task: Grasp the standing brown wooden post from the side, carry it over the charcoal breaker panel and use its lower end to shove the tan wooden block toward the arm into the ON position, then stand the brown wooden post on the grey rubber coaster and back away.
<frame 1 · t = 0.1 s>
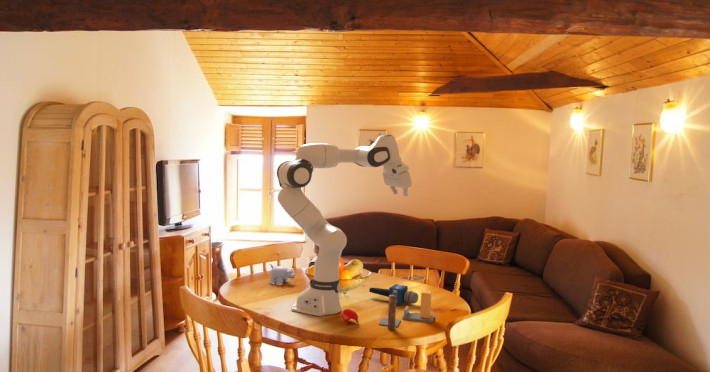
hand: (400, 194, 241), 52 cm above the table, tool tilted 20°, fingers open, 8 cm apart
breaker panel: (418, 318, 221), on the table
microphone: (392, 302, 244), on the table
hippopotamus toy: (281, 283, 271), on the table
brown wooden post: (391, 329, 207), on the table
tan wooden block: (425, 304, 220), point 7 cm above the table, slide at 0.0 cm
coaster: (389, 322, 214), on the table
cap: (349, 323, 212), on the table
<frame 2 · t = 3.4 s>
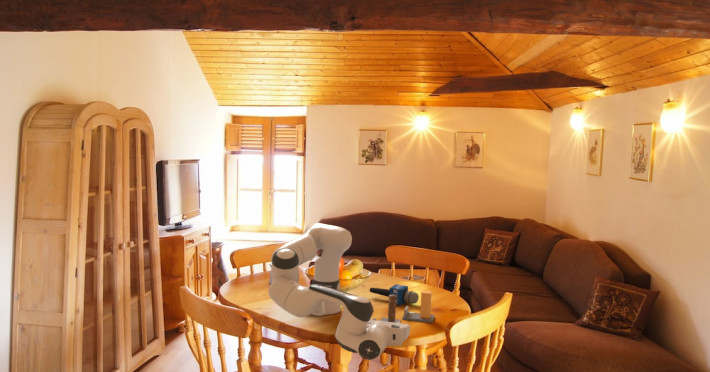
hand: (386, 321, 194), 7 cm above the table, tool horizontal, fingers open, 8 cm apart
nothing on the table moved.
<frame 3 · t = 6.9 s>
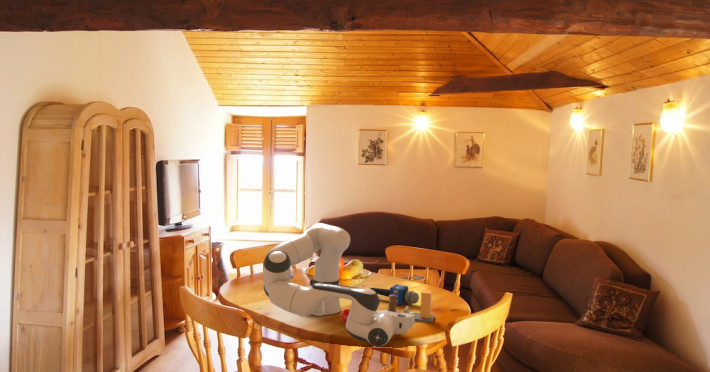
hand: (392, 311, 207), 7 cm above the table, tool horizontal, fingers closed on brown wooden post, 3 cm apart
brown wooden post: (391, 329, 207), on the table, touching gripper
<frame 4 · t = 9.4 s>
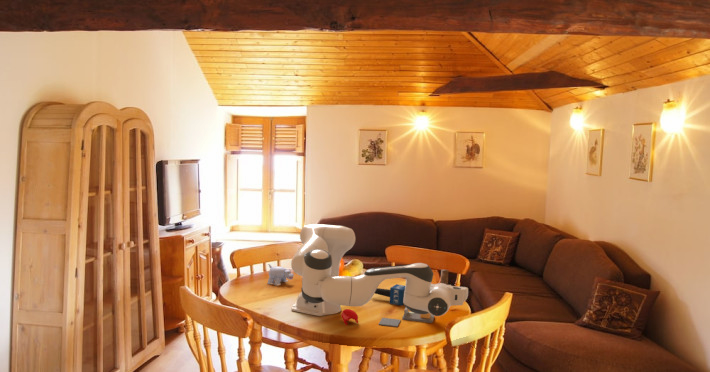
hand: (444, 286, 212), 17 cm above the table, tool horizontal, fingers closed on brown wooden post, 3 cm apart
brown wooden post: (443, 303, 211), point 10 cm above the table, touching gripper
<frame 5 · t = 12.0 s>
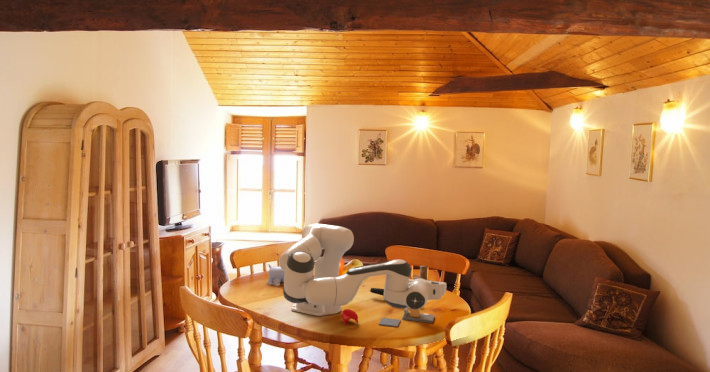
hand: (424, 281, 220), 16 cm above the table, tool horizontal, fingers closed on brown wooden post, 3 cm apart
brown wooden post: (424, 298, 220), point 9 cm above the table, touching tan wooden block, gripper
tan wooden block: (415, 303, 221), point 7 cm above the table, slide at 4.6 cm, touching brown wooden post
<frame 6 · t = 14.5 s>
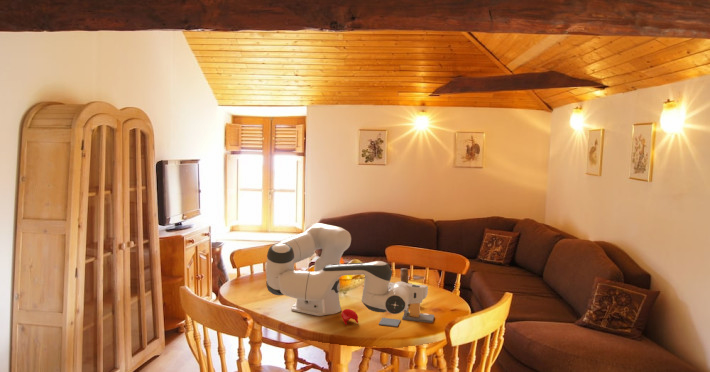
hand: (404, 284, 212), 17 cm above the table, tool horizontal, fingers closed on brown wooden post, 3 cm apart
brown wooden post: (404, 302, 211), point 10 cm above the table, touching gripper
tan wooden block: (415, 303, 221), point 7 cm above the table, slide at 4.7 cm
when the fingers open (8 cm above the table, at t = 16.8 s): brown wooden post stays where it is, resting on coaster.
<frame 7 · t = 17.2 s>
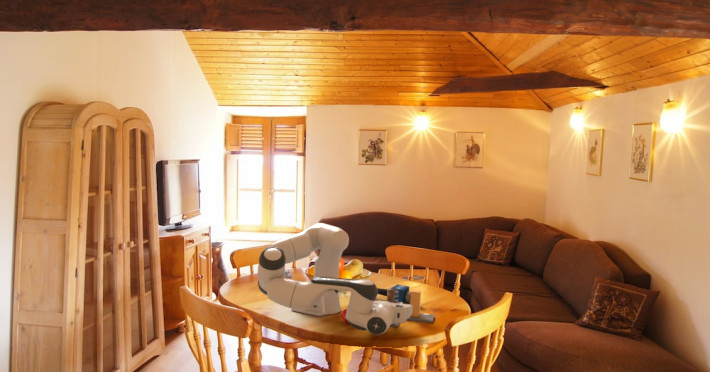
hand: (390, 302, 214), 8 cm above the table, tool horizontal, fingers open, 7 cm apart
brown wooden post: (389, 321, 214), point 1 cm above the table, touching coaster
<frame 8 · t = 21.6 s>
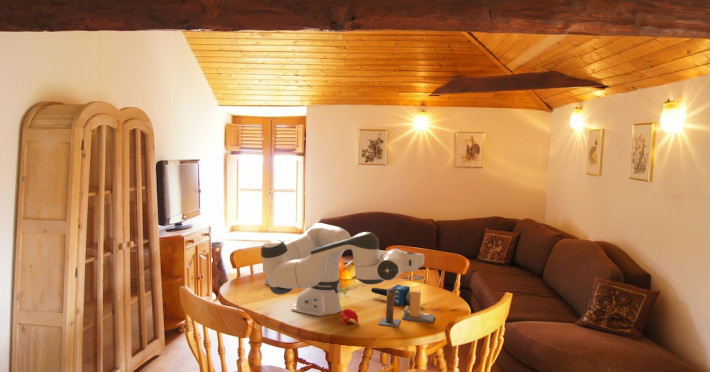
hand: (401, 253, 202), 32 cm above the table, tool horizontal, fingers open, 8 cm apart
at the end: tan wooden block slide at 4.7 cm; brown wooden post inside the target area on the coaster (0.1 cm from its centre), point 0.5 cm above the coaster's base; brown wooden post tilted 1° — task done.
